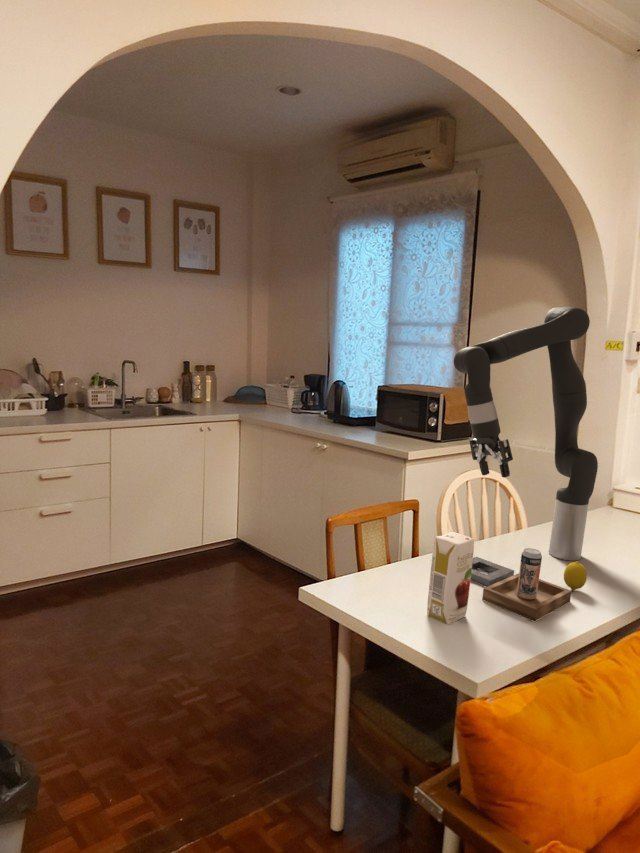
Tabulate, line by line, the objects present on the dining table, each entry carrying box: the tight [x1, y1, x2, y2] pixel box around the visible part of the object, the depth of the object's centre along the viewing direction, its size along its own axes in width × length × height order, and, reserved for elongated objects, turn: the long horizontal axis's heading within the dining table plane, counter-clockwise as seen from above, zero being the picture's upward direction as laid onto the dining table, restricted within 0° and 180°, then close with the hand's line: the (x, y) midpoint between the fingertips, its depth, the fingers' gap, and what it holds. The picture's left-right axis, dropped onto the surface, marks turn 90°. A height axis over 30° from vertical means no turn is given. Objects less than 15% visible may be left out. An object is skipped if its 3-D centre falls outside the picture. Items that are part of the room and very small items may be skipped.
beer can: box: [517, 547, 543, 600], centre depth 155 cm, size 5×5×12 cm
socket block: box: [470, 556, 515, 587], centre depth 170 cm, size 12×12×2 cm
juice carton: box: [426, 531, 475, 625], centre depth 143 cm, size 8×9×19 cm
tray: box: [481, 572, 573, 622], centre depth 155 cm, size 18×14×3 cm
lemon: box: [563, 560, 588, 591], centre depth 164 cm, size 6×6×8 cm
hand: (495, 475), depth 173 cm, fingers open, 8 cm apart
